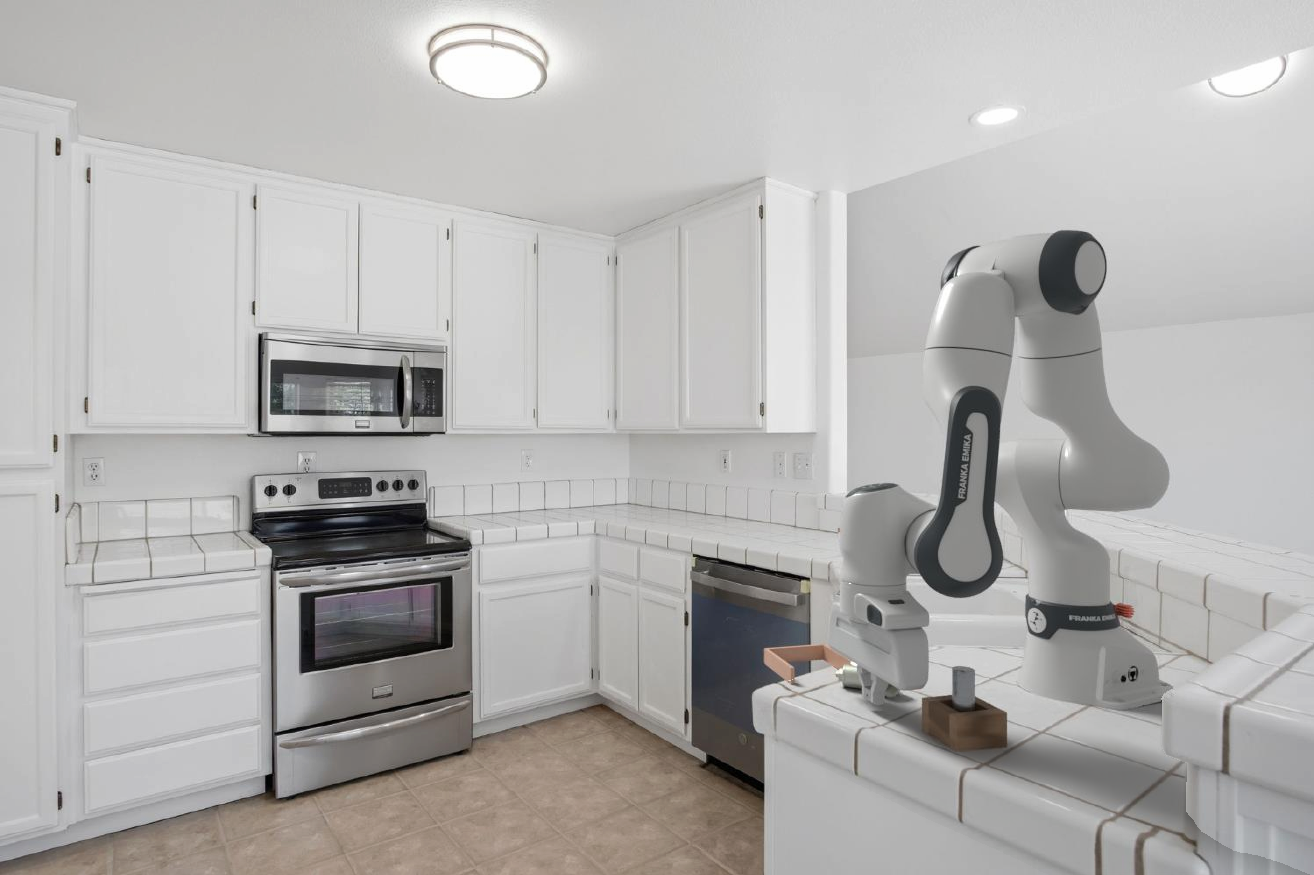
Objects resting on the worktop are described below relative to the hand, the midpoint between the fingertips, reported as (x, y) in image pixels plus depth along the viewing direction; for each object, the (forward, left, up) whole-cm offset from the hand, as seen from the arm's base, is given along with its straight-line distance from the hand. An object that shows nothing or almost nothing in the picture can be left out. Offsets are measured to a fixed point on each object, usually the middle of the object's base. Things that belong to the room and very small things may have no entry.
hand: (873, 701), depth 100 cm
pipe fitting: (0, -8, 0) cm, 8 cm away
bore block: (-6, +11, -2) cm, 13 cm away
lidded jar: (-70, -131, -2) cm, 148 cm away
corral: (+1, -19, -2) cm, 19 cm away
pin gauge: (-6, +11, -2) cm, 13 cm away
